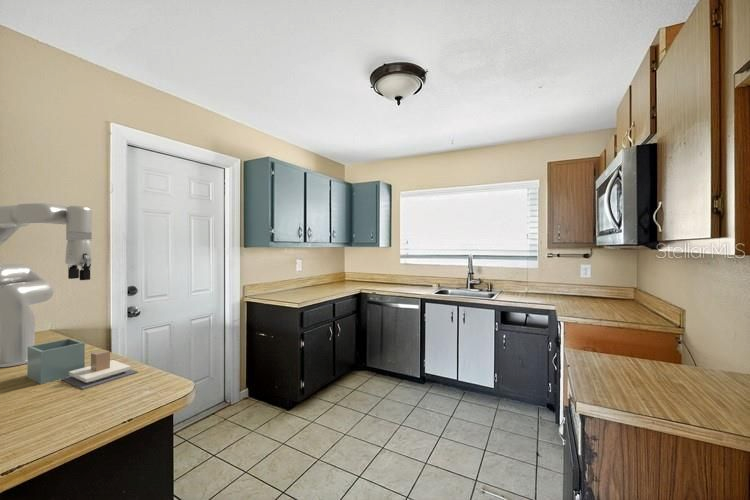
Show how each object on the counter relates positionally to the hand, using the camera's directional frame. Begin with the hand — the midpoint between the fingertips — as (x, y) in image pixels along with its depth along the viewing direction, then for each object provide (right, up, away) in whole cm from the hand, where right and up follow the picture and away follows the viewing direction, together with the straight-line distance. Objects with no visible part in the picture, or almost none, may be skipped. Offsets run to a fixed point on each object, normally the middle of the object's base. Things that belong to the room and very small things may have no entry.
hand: (79, 279), depth 128 cm
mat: (+21, -34, -14) cm, 42 cm away
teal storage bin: (+4, -34, -13) cm, 36 cm away
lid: (+20, -32, -14) cm, 41 cm away
